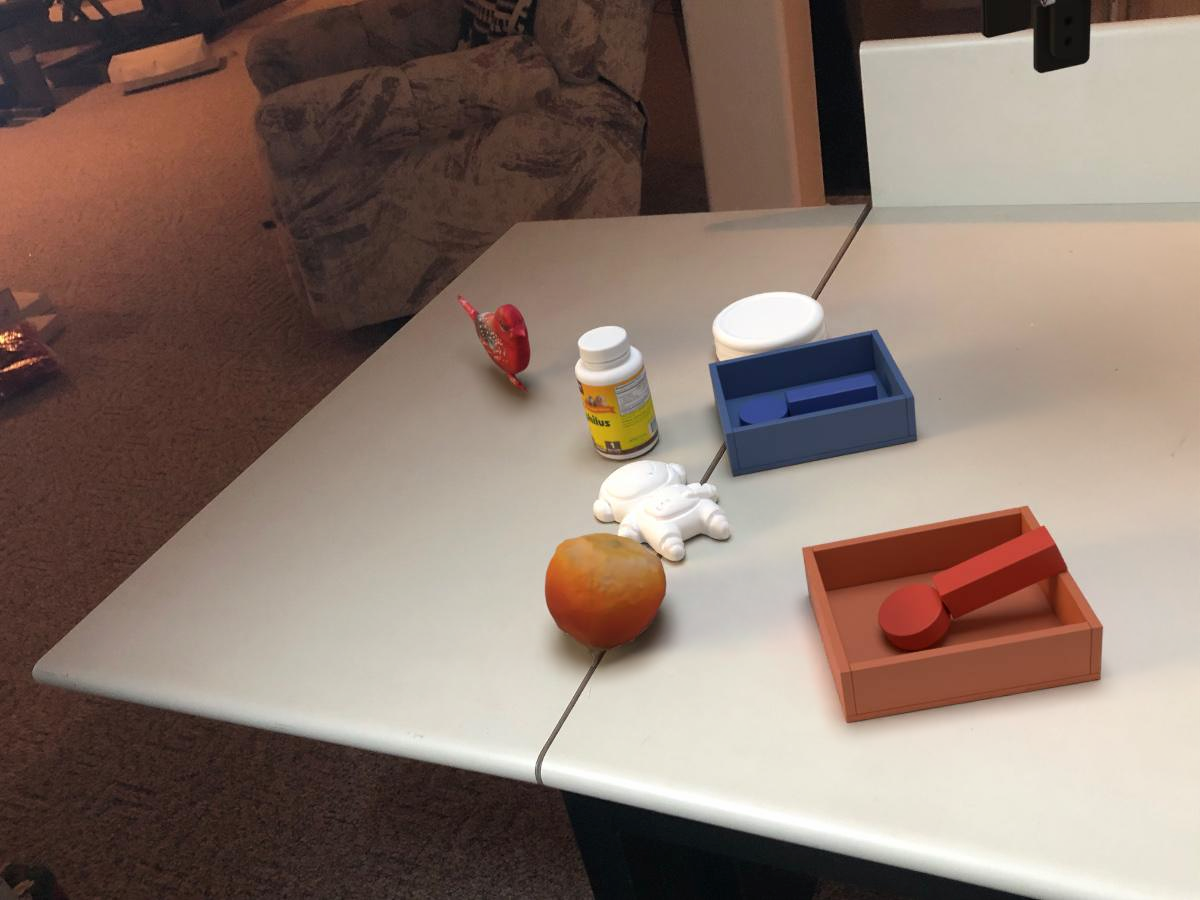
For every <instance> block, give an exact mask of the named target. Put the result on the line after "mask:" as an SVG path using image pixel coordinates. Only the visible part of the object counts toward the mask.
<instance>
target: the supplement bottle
mask: <svg viewBox="0 0 1200 900" xmlns="http://www.w3.org/2000/svg"><path fill="white" fill-rule="evenodd" d="M577 346H578V351H579V356H580V358H579V359H578V361H577V362H576V364H575V367H574V373H575V377H576V382H577V385H578V386H577V387H578V389H579V393H580V397H581V400H582V404H583V408H584V412H585V416H586V420H587V424H588V427H589V432H590V435H591V438H592V439H591V440H592V442H593V446H594V448H595V450H596V451H597V453H598V454H600V455H601V456H602V457H605V458H607V459H611V460H628V459H629V460H630V459H633V458H636V457H639V456H642V455H643V454H645V453H646V452H648V451H650V450H651V449H653V447H654V446H655V445H656V443H657V441H658V439H659V435H660V432H659V431H660V430H659V425H658V421H657V415H656V412H655V407H654V402H653V399H652V394H651V389H650V384H649V380H648V376H647V369H646V366H645V361H644V357H643V355H642V353H641V351H640V350H639V349H638V348H636V347H634V346H633V345H631V343H630V341H629V337H628V332H627V330H625V329H624V328H623V327H620V326H616V325H605V326H600V327H597V328H593V329H590V330H588V331H587V332H585V333H583V334H582V335H581V336H580V338H579V339H578V341H577Z"/></svg>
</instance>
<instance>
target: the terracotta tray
mask: <svg viewBox="0 0 1200 900" xmlns="http://www.w3.org/2000/svg"><path fill="white" fill-rule="evenodd" d="M1041 526H1042V525H1041V524H1040V523H1039V521H1038V520H1037V518H1036V516H1035V515H1034V513H1033V512H1032V510H1031V509H1030V507H1029V506H1028V505H1022V506H1018V507H1013V508H1007V509H1001V510H995V511H991V512H985V513H980V514H974V515H970V516H964V517H958V518H953V519H948V520H942V521H939V522H933V523H927V524H921V525H916V526H911V527H906V528H900V529H895V530H894V529H893V530H889V531H885V532H878V533H874V534H868V535H863V536H858V537H852V538H847V539H842V540H836V541H830V542H826V543H820V544H815V545H809V546H808V545H807V546H804V547H802V548H801V551H802V557H803V558H802V559H803V565H804V572H805V579H806V585H807V586H806V587H807V593H808V597H809V600H810V604H811V607H812V610H813V613H814V617H815V621H816V624H817V627H818V631H819V634H820V637H821V642H822V644H823V647H824V651H825V654H826V658H827V662H828V665H829V667H830V671H831V676H832V678H833V682H834V685H835V688H836V691H837V695H838V698H839V702H840V704H841V708H842V711H843V715H844V718H845V722H846V723H852V722H857V721H858V722H859V721H865V720H870V719H876V718H882V717H887V716H893V715H894V716H895V715H898V714H899V715H900V714H904V713H909V712H916V711H922V710H929V709H932V708H933V709H934V708H939V707H940V708H941V707H946V706H951V705H956V704H962V703H968V702H974V701H980V700H986V699H992V698H997V697H1001V696H1002V697H1003V696H1008V695H1009V696H1010V695H1014V694H1021V693H1027V692H1032V691H1037V690H1044V689H1049V688H1055V687H1056V688H1057V687H1061V686H1066V685H1072V684H1078V683H1084V682H1090V681H1096V680H1100V679H1101V678H1102V658H1103V657H1102V656H1103V637H1104V626H1103V624H1102V622H1101V621H1100V619H1099V618H1098V616H1097V614H1096V613H1095V611H1094V609H1093V608H1092V606H1091V605H1090V603H1089V602H1088V600H1087V599H1086V597H1085V595H1084V594H1083V592H1082V590H1081V589H1080V587H1079V586H1078V584H1077V582H1076V581H1075V579H1074V578H1073V576H1072V574H1071V573H1070V571H1069V569H1066V570H1064V571H1062V572H1060V573H1057V574H1055V575H1053V576H1051V577H1048V578H1046V579H1044V580H1042V581H1039V582H1037V583H1035V584H1033V585H1030V586H1028V587H1026V588H1024V589H1021V590H1019V591H1017V592H1015V593H1012V594H1010V595H1008V596H1006V597H1003V598H1001V599H999V600H997V601H994V602H992V603H990V604H988V605H986V606H983V607H981V608H979V609H977V610H974V611H972V612H970V613H968V614H965V615H963V616H961V617H959V618H956V619H954V618H953V617H952V615H951V614H950V615H951V619H950V624H949V627H948V629H947V631H946V632H945V633H944V635H943V636H942V637H941V638H940V639H939V640H937V641H936V642H935V643H933V644H931V645H929V646H927V647H925V648H922V649H917V650H904V649H901V648H898V647H896V646H894V645H893V644H892V643H891V642H890V641H889V639H888V638H887V636H886V635H885V633H884V631H883V630H882V628H881V627H880V625H879V622H878V613H879V609H880V607H881V605H882V603H883V602H884V600H885V599H886V598H887V597H888V596H889V595H890V594H892V593H893V592H894V591H896V590H898V589H900V588H902V587H904V586H907V585H911V584H926V585H929V586H932V587H933V588H935V589H936V590H937V588H936V586H935V584H934V581H933V579H932V576H934V575H936V574H939V573H941V572H943V571H945V570H947V569H949V568H952V567H954V566H956V565H958V564H960V563H963V562H965V561H967V560H969V559H971V558H973V557H976V556H978V555H980V554H982V553H984V552H986V551H989V550H991V549H993V548H995V547H997V546H1000V545H1002V544H1004V543H1006V542H1008V541H1010V540H1013V539H1015V538H1017V537H1019V536H1021V535H1023V534H1026V533H1028V532H1030V531H1032V530H1034V529H1037V528H1039V527H1041ZM937 591H938V590H937Z"/></svg>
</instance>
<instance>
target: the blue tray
mask: <svg viewBox="0 0 1200 900" xmlns="http://www.w3.org/2000/svg"><path fill="white" fill-rule="evenodd" d="M708 370H709V374H710V380H711V381H710V382H711V387H712V392H713V397H714V402H715V408H716V412H717V415H718V420H719V423H720V428H721V432H722V436H723V441H724V444H725V445H724V446H725V449H726V453H727V457H728V461H729V465H730V469H731V474H732V477H737V476H741V475H746V474H753V473H757V472H761V471H767V470H772V469H777V468H782V467H789V466H792V465H799V464H803V463H808V462H812V461H813V462H814V461H818V460H824V459H827V458H828V459H829V458H834V457H838V456H839V457H840V456H844V455H849V454H850V455H851V454H855V453H859V452H860V453H861V452H865V451H869V450H875V449H881V448H885V447H890V446H895V445H901V444H905V443H911V442H916V441H918V435H917V434H918V433H917V417H916V404H915V403H916V402H915V395H914V394H913V391H912V390H911V387H910V386H909V384H908V383H907V381H906V379H905V378H904V377H905V376H903V374H902V371H901V370H900V367H899V366H898V365H897V363H896V361H895V359H894V357H893V355H892V354H891V352H890V350H889V348H888V346H887V345H886V343H885V341H884V339H883V338H882V335H881V334H880V332H879V329H878V328H877V329H872V330H867V331H862V332H857V333H851V334H847V335H842V336H837V337H832V338H827V340H822V341H817V342H812V343H807V344H802V345H798V346H793V347H788V348H783V349H778V350H773V351H768V352H763V353H758V354H754V355H749V356H744V357H739V358H734V359H729V360H724V361H720V360H718V361H716V362H710V363H708ZM870 374H871V375H872V377H873V379H874V381H875V383H876V385H877V395H878V400H873V401H868V402H863V403H858V404H853V405H848V406H843V407H838V408H833V409H827V410H822V411H817V412H812V413H807V414H802V415H797V416H792V417H787V418H782V419H777V420H772V421H767V422H762V423H757V424H752V425H747V426H742V427H740V421H739V415H738V412H739V410H740V408H741V407H742V406H743V405H744V404H745V403H747V402H749V401H751V400H754V399H757V398H763V397H774V398H778V399H781V400H783V401H784V402H785V403H786V397H785V392H786V391H790V390H795V389H800V388H805V387H810V386H815V385H820V384H825V383H830V382H835V381H840V380H845V379H850V378H855V377H860V376H865V375H870Z"/></svg>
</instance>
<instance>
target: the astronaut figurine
mask: <svg viewBox="0 0 1200 900" xmlns="http://www.w3.org/2000/svg"><path fill="white" fill-rule="evenodd" d="M686 483H687V472H686V469H684V467H683V466H682V465H681V464H678V463H674V462H670V463H666V462H663V461H658V460H651V459H650V460H649V459H644V460H638V461H633V462H629V463H627V464H624V465H622V466H621V467H619V468H618V469H615V470H614V471H613V472H612V473H611V474H610V475H608V477H607V478H605V480H604V481H603V483H602V484H601V486H600V488H599V494H598V499H596V500H595V501H594V503H593V506H592V510H593V514H594V516H595V517H596V519H598V521H601V522H604V523H613V522H617V523H619V526H618V532H617V535H618V536H622V537H628V538H630V539H632V540H634V541H636V542H638V543H640V544H642V543H647V544H648V545H649V546H650V547H651V548H653V549H654V551H655V552H656V553H657V554H660V556H662V557H664V558H665V559H667V560H669V561H672V562H678V561H681V560H682V559H684V558H685V555H686V550H685V543H684V541H686V540H689V539H691V538H693V537H695V536H697V535H700V534H703V535H705V536H708V537H710V538H712V539H715V540H726V539H728V538H729V537H730V536H731V528H730V525H729V524H730V523H729V520H728V518H727V516H726V515H725V512H724V510H723V508H721V507H720V506H719V505H718V504H717V502H718V499H719V496H720V495H719V489H718V487H717V486H716V485H713V484H711V483H708V482H705V483H703V484H702V485H701V483H700V482H693V483H690V484H686Z"/></svg>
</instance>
